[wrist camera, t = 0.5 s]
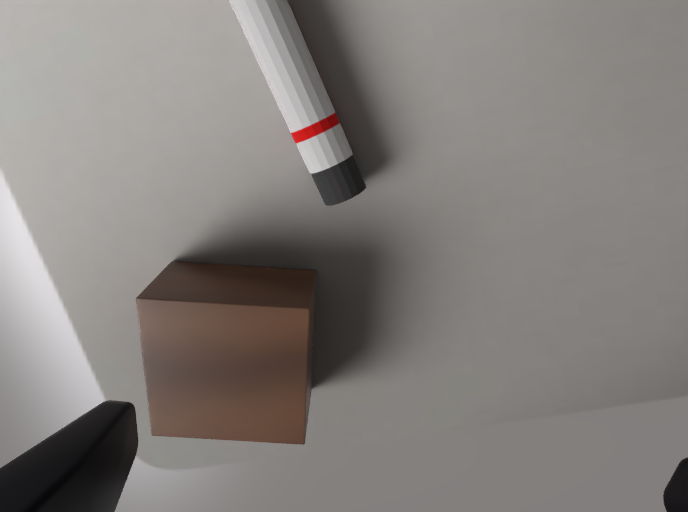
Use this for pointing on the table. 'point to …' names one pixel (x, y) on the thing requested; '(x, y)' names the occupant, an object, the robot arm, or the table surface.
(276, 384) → the block
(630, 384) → the table surface
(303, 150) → the marker
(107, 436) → the robot arm
